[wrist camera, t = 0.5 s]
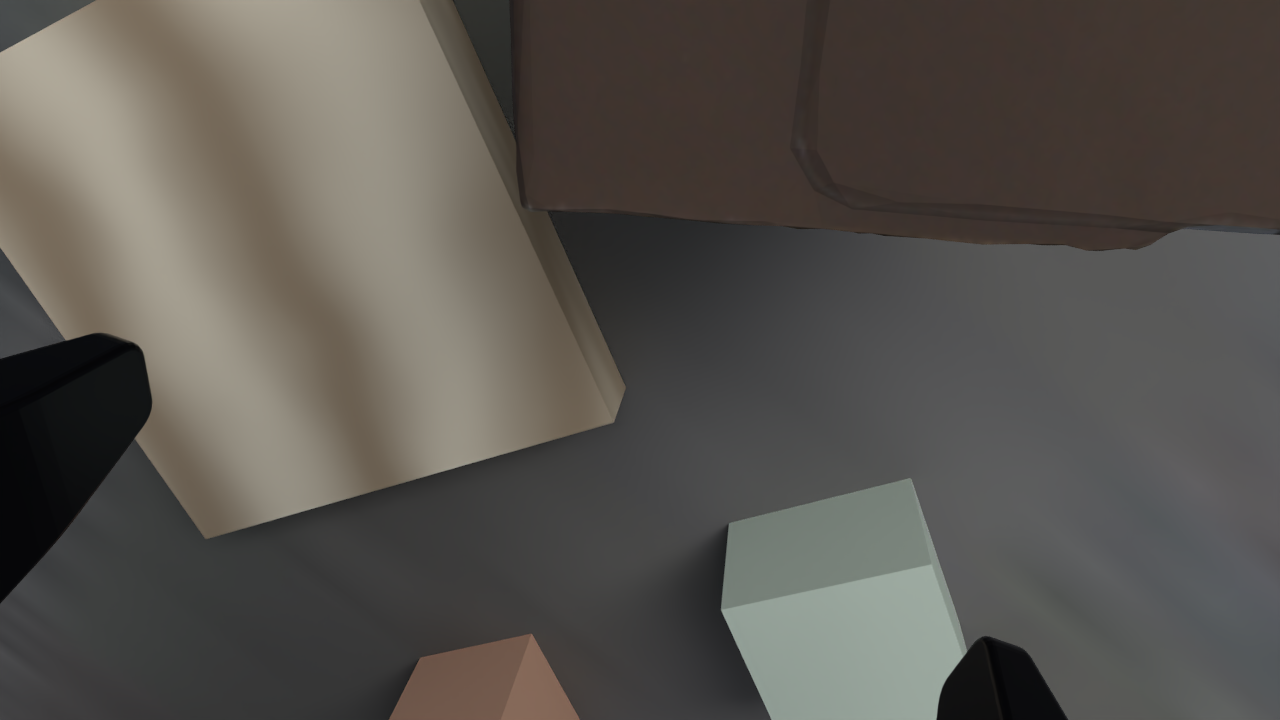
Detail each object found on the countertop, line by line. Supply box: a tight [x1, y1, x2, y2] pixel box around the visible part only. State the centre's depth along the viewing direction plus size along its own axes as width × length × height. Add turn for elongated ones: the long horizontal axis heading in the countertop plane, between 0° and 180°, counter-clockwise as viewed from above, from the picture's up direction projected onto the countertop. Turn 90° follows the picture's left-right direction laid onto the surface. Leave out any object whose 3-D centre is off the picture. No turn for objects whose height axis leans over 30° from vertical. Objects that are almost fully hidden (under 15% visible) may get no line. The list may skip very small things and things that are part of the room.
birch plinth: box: [0, 0, 626, 539], centre depth 23 cm, size 14×14×2 cm
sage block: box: [721, 478, 967, 720], centre depth 25 cm, size 6×6×4 cm
